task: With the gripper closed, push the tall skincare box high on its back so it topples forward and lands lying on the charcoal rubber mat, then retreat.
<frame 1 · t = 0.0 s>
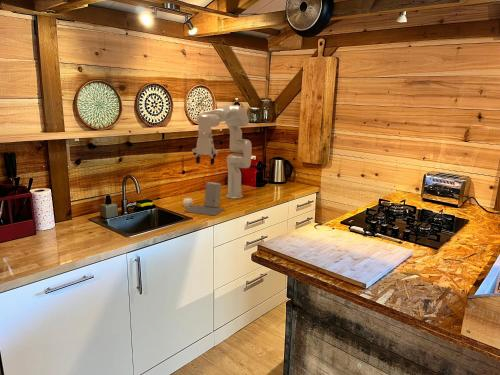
hand: (205, 163, 234), 31 cm above the counter, fingers open, 9 cm apart
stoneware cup: (188, 206, 255), on the counter
skincare box: (212, 206, 255), on the counter
mat: (204, 210, 245), on the counter
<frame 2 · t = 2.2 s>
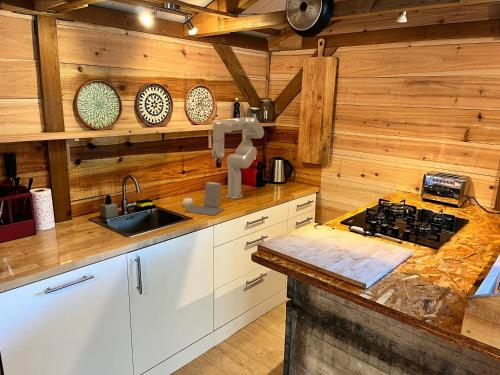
hand: (218, 167, 259), 25 cm above the counter, fingers closed
skincare box: (212, 206, 255), on the counter, touching mat
everything else where it was.
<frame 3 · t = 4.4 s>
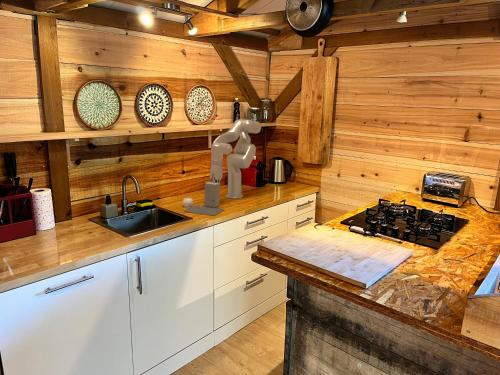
hand: (216, 189, 259), 10 cm above the counter, fingers closed
skincare box: (212, 206, 255), on the counter, touching mat
everything else where it was.
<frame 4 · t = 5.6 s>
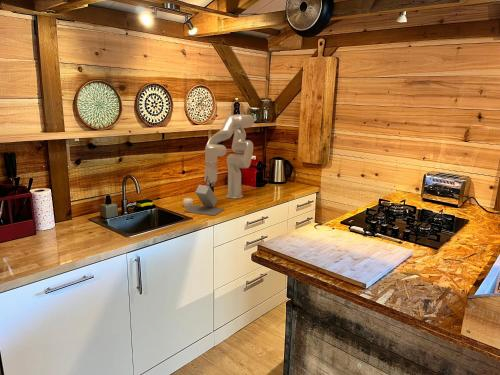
hand: (211, 192, 252), 10 cm above the counter, fingers closed
skincare box: (211, 202, 254), point 3 cm above the counter, touching mat
everything else where it was.
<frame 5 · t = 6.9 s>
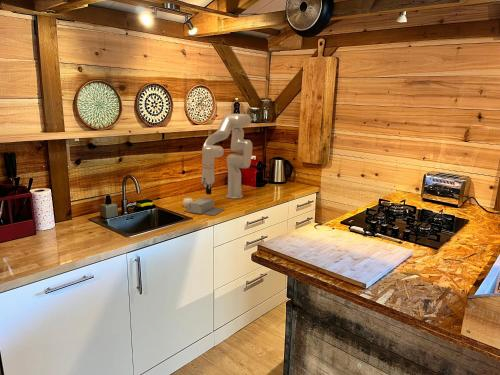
hand: (208, 194, 249), 10 cm above the counter, fingers closed
skincare box: (209, 201, 251), point 4 cm above the counter, touching mat
everything else where it was.
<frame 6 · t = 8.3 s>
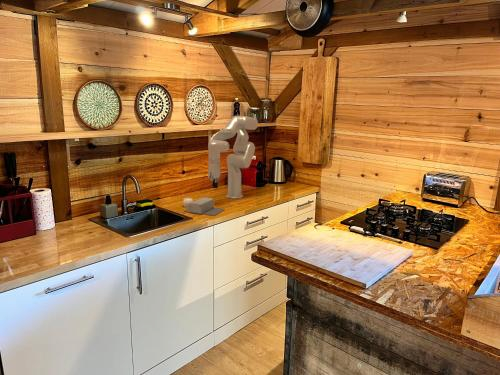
hand: (215, 187, 257), 12 cm above the counter, fingers closed
nothing on the counter moved.
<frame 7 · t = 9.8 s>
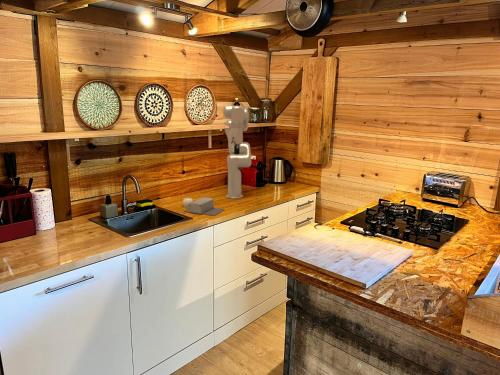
hand: (236, 154, 250), 35 cm above the counter, fingers closed
nothing on the counter moved.
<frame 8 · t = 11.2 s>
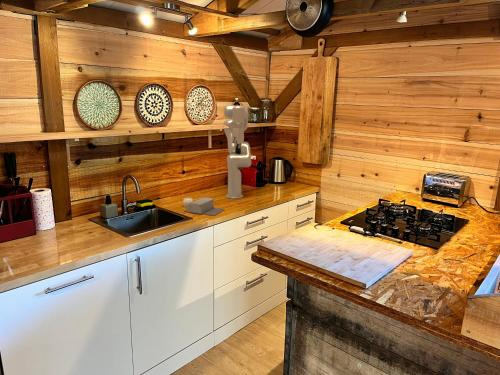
hand: (238, 154, 250), 35 cm above the counter, fingers closed
nothing on the counter moved.
at the end: skincare box tilted 93°; skincare box inside the target area (7.4 cm from its centre), point 4.0 cm above the counter; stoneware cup touching counter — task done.
